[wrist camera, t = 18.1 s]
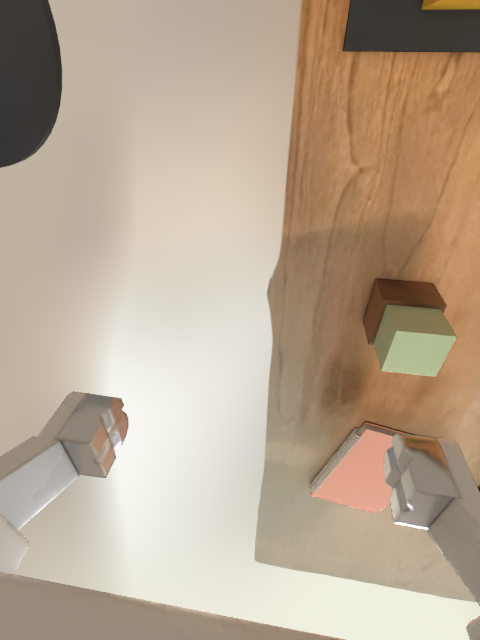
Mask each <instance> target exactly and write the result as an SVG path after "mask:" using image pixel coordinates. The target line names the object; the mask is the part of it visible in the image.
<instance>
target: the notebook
mask: <svg viewBox="0 0 480 640" xmlns="http://www.w3.org/2000/svg"><path fill="white" fill-rule="evenodd" d="M356 429H357V430H358V431H355V430H356ZM353 432H354V433H353ZM353 432H352V433H351V434H352V435H351V434H350V436H349V437H348V438H347V439H346V440H345V442H344V443H343V444H344V445H343V444H342V446H341V447H340V448H339V449H338V451H339V452H338V451H337V452H336V453H335V454H334V455H333V457H332V458H333V459H332V458H331V459H330V460H329V462H328V463H327V464H326V465H325V467H324V468H325V469H324V468H323V469H322V470H321V472H320V473H321V474H320V473H319V474H318V475H317V476H316V478H315V479H316V480H315V479H314V480H313V482H312V483H311V484H310V490H311V495H310V496H314V497H317V498H321V499H325V500H328V501H332V502H336V503H340V504H343V505H347V506H351V507H354V508H358V509H362V510H365V511H369V512H373V513H378V512H380V511H381V510H382V509H383V508H385V507H386V506H387V505H388V504H389V503H390V502H389V497H390V495H391V493H392V491H393V490H392V489H391V488H390V487H389V486H388V485H387V483H386V482H385V477H384V471H383V461H384V455H385V453H386V450H387V449H388V448H390V447H392V446H393V444H392V438H393V436H394V435H395V434H397V433H400V434H407V433H404V432H400V431H396V430H393V429H389V428H386V427H382V426H378V425H375V424H371V423H368V422H365V423H364V424H363V425H362V427H361V428H360V429H358V428H355V429H354V431H353ZM355 432H357V433H355ZM353 434H354V435H353ZM409 435H411V434H409ZM351 436H352V437H351ZM350 438H351V439H350ZM348 440H349V441H348ZM346 442H347V443H346ZM345 444H346V445H345ZM343 446H344V447H343ZM342 448H343V449H342ZM340 449H341V450H340ZM337 453H338V454H337ZM335 455H336V456H335ZM337 455H338V456H337ZM331 460H332V461H331ZM333 460H334V461H333ZM331 462H332V463H331ZM329 465H330V466H329ZM327 467H328V468H327ZM324 470H325V471H324ZM323 472H324V473H323ZM322 473H323V474H322ZM319 476H320V477H319ZM318 478H319V479H318ZM314 482H315V483H314ZM313 484H314V485H313ZM312 485H313V486H312Z"/></svg>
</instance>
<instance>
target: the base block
mask: <svg viewBox="0 0 480 640" xmlns="http://www.w3.org/2000/svg"><path fill="white" fill-rule="evenodd" d="M387 304H388V305H400V306H411V307H422V308H434V309H441V310H442V312H443V313H444V311H445V309H446V307H447V305H446V303H445V302H444V300H443V299H442V297H441V295H440V294H439V292H438V290H437V289H436V287H435V286H434V284H433V283H421V282H409V281H396V280H384V279H376V280H375V284H374V287H373V290H372V294H371V297H370V300H369V304H368V307H367V310H366V314H365V317H364V320H363V324H364V328H365V332H366V336H367V340H368V344H369V345H373V346H375V345H374V341H375V338H376V335H377V332H378V329H379V326H380V323H381V320H382V317H383V314H384V311H385V308H386V305H387Z"/></svg>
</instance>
